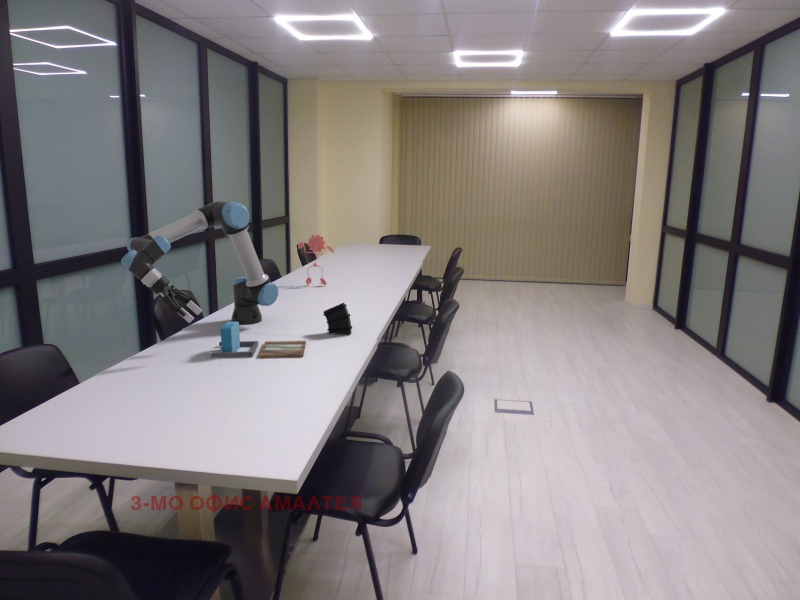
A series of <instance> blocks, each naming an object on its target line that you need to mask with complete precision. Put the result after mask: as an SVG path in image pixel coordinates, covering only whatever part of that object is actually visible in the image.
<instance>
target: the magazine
mask: <svg viewBox="0 0 800 600" xmlns="http://www.w3.org/2000/svg"><path fill="white" fill-rule="evenodd" d="M322 312H323V317H325V318H326V324H327V326H328V327H327V331H328V334H330V333H335V334H334V335H344V334H347V335H348V336H349V335H351V334H352V329H353V325H352V324H351V318H350V317H351V314H350V313H349V311H348V308H347V304H345V302H342V303H339V304H338V305H337V304H336V305H335V306H332V307H330V308H328V309H326V310H324V311H322ZM347 335H346V336H347Z"/></svg>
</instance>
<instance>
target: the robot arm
mask: <svg viewBox="0 0 800 600" xmlns="http://www.w3.org/2000/svg"><path fill="white" fill-rule="evenodd" d="M249 219H250V213H249V210H248V209H247V207H246V206H245V205H243V204H242V203H239V202H237V201H236V202H235V201H222V200H221V201H214V202H211V203H208V204H207V205H206V204H205V205H204V206H202V207H199V208H198V209H195V210H194V211H193V212H192V214H189V215H187V216H185V217H183V218H181V219H178V220H176V221H174V222H172V223H170V224H166V225H165V226H162V227H160V228H158V229H156V230H154V231H151V232H149V233H147V234H144V235H141V236H140V237H132V238H130V239H129V240H128V241H127V243H126V248H127V251H128V252H127V253H126V254H125V255H124V256H123V257H122V258H121V260H120V263H121V264H122V265H123V267H124V268H125V269H126V270H127V271H129V272H130V273H131V274H132V275H134V276H135V278H137V279H138V280H139V281H141V282H142V285H143V286H144V285H145V286H146V287H147V288H150V290H151V291H152V293H154V294H155V295H158V297H160V298H161V300H162V301H163V302H164V303H165V304H166V306H167V307H168V308H169V309H170V310H171V311H172V313H173V314H178V315H179V316H181V318H182V319H184V320H185V321H186V322H187V323H188V324H190V323H192V321H193V320H194V319H195V317H194V316H193V315H191V314H190V313H189V312H188V311H187V310H185V309H184V308H183V307H181V306H180V304H179V303H178V302H177V301H179V302H181V303H183V304H186V307H188V308H189V309H190V310H191V311H192V312H193V313H194V314H196V315H197V316H199V315H200V314H201V313H202V312H203V310H202V309H201V308H200V307H199V306H198V305H197V304H196V303H195V302H194V301H192V300H193V298H192V296H189V295H188V294H186V293H185V292H184V291H181V290H180V289H179V288H177V287H175V285H173V284H172V285H171V286H169V284H170V280H169V279H168V278H167V277H166V276H163V274H162V273H161V272H160V271H159V270H158V269H157V268H155V267H154V266H153V265H154V264H155V263H156V262H157V261H158V260H160V259H161V258H162V257H164V255H167V252H169V250H171V248H172V247H171V244H172V243H173V242H175V241H178V240H179V239H182V238H184V237H186V236H188V235H191V234H192V233H195V232H197V231H199V230H201V229H202V230H206V229H210V228H212V227H220V228H221V229H222V231H223V233H224V235H225V236H228V237H229V238H230V242H231V245H232V246H233V249H234V251H235V254H236V256H237V258H238V261H239V263H240V265H241V268H242V270H243V273H244V275H245V276H240V277H235V278H234V279H233V282H232V287H233V289H232V290H233V300H234V301H233V304H234V308H233V312H232V315H231V322H239V325H253V324H256V323H260V322H262V321H263V315H262V312H261V310H260V308H259V306H261V307H264V306H265V307H268V306H272V305H274V303H276V301H277V299H278V297H279V288H278V286H277V285H276V284H275V283H274V282H272V281H271V279H270V277H269V275H268V274H266V273H264V270H263V267H262V264H261V262H260V260H259V258H258V255H257V252H256V250H255V247H254V245H253V242H252V240H251V238H250V235H249V232H248V230H249V226H250V225H249V222H250V220H249Z"/></svg>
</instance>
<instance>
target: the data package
mask: <svg viewBox="0 0 800 600" xmlns="http://www.w3.org/2000/svg"><path fill="white" fill-rule="evenodd" d="M240 336H241V335H240V324H239V322H232V321H227V322H226V323H224V325H222V326H221V327H220V342H221V346H222V347H221V352H238V350H239V349H240V341H241V337H240Z"/></svg>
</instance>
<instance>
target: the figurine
mask: <svg viewBox="0 0 800 600" xmlns="http://www.w3.org/2000/svg"><path fill="white" fill-rule="evenodd" d="M308 241H309V242H307V243H306V244H307V246H308V248H309V250H310V251H308V252H307V251H306V248H305V242H304V241H301V242H299V243H298V244H297V248H298V250H300V249H303V251H304V253H305V254H309V253H310V254H312V253H313V254H314V255H316V258H315V262H313V265H312V266H310V267H307V272H309V269H311V268H312V267H319V268H320V269H321V271H322V272H321V273H322V274H321V277H320V278H319V280H320V286H322V284H323V285H324V286H327V281H326V280H325V279H324V278H323V274H324V269H323V268H322V267H321V266H319V264H318V263H317V259H318V258H319V257H318V255H320V256H322V255H323V254H324V252H325V251H326V249H328V250H329V251H330V252H331V253H333V254H334V253H335V251H334V249H333V248H332V246H330V245H328V244H327V245H326V241H325V240H324V237H323V236H320V234H317V235H316V236H315V234H312V235H311V237H309V238H308ZM325 245H326V247H325ZM322 250H323V251H322ZM309 275H310V273H307V276H308V277H307V278H306V280H305V284H306V285H307V287H310V286H309V285H310V283H311V284H312V281H313V280H312V278H311V277H310V276H309Z"/></svg>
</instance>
